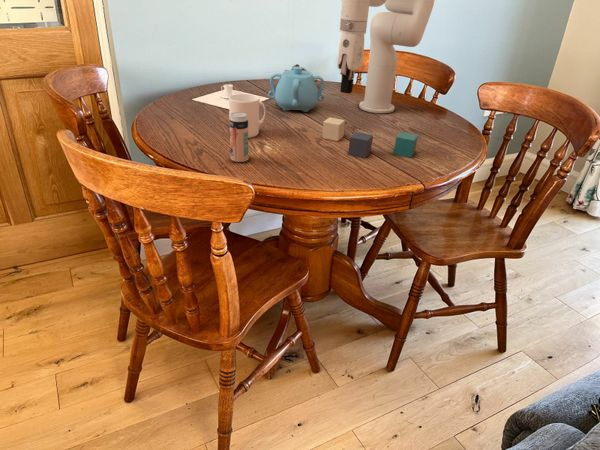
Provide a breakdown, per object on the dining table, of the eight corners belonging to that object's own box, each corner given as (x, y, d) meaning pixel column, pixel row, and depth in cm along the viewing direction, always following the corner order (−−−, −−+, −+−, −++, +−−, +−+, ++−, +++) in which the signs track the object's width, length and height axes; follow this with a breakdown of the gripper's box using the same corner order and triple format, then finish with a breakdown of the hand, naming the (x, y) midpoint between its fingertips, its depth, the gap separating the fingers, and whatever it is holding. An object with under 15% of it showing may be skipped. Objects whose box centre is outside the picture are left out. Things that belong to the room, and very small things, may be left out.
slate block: (353, 148, 131) (355, 131, 129) (370, 152, 130) (373, 135, 127) (348, 154, 127) (349, 137, 125) (365, 158, 126) (367, 140, 123)
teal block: (397, 148, 133) (400, 131, 130) (415, 151, 131) (418, 134, 129) (393, 154, 129) (396, 137, 127) (411, 157, 127) (414, 140, 125)
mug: (274, 133, 139) (274, 97, 133) (240, 140, 132) (240, 103, 126) (257, 125, 144) (257, 90, 139) (224, 132, 137) (223, 96, 132)
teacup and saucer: (245, 96, 170) (245, 85, 168) (231, 101, 164) (231, 89, 162) (227, 92, 174) (227, 81, 172) (213, 96, 168) (212, 85, 166)
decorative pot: (263, 104, 164) (264, 64, 157) (300, 98, 172) (302, 60, 165) (290, 117, 153) (291, 75, 146) (328, 110, 161) (331, 70, 154)
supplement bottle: (230, 155, 122) (229, 111, 116) (248, 156, 123) (248, 111, 116) (229, 163, 118) (228, 117, 112) (248, 163, 119) (248, 117, 112)
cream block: (328, 133, 141) (329, 117, 139) (343, 136, 139) (345, 120, 137) (322, 138, 137) (323, 121, 135) (337, 141, 136) (339, 124, 133)
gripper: (357, 30, 123) (349, 99, 132) (373, 25, 135) (365, 89, 144) (331, 27, 125) (325, 95, 134) (349, 23, 137) (342, 85, 146)
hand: (346, 92), depth 139 cm, fingers closed
